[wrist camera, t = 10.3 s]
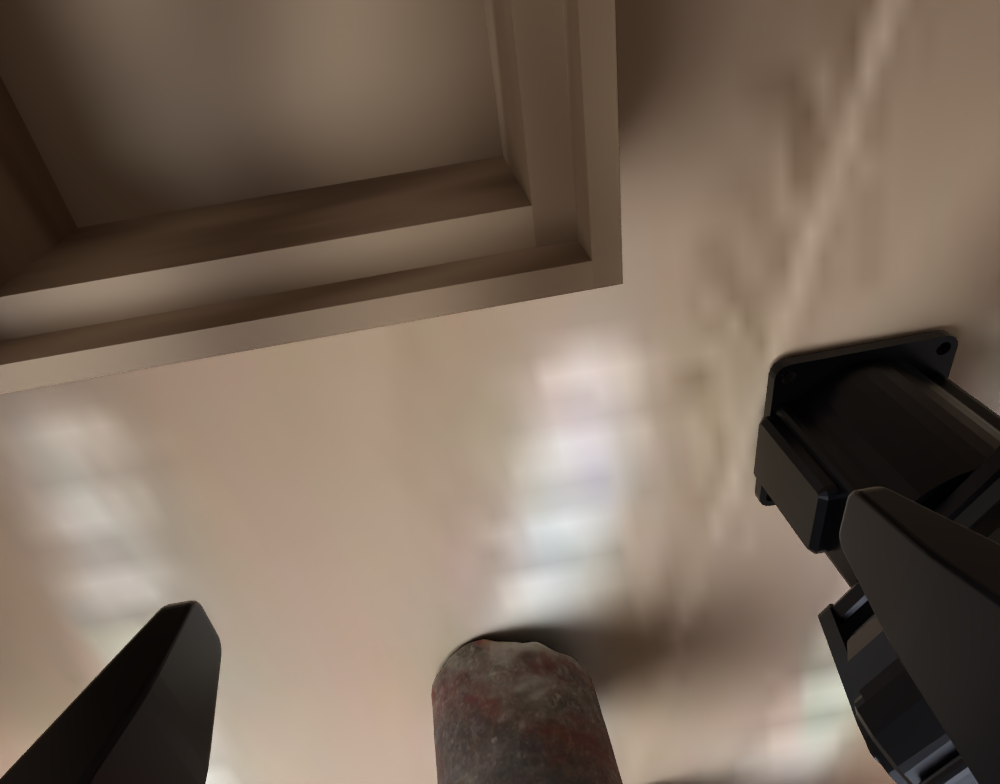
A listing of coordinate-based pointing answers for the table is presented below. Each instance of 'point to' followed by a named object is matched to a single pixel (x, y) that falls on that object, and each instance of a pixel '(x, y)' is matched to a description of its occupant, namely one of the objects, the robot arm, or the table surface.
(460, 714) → the rusty brown cylinder
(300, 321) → the walnut box
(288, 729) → the table surface
